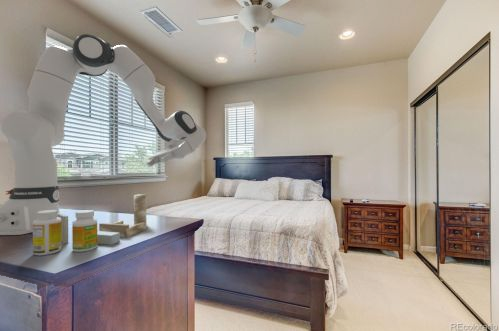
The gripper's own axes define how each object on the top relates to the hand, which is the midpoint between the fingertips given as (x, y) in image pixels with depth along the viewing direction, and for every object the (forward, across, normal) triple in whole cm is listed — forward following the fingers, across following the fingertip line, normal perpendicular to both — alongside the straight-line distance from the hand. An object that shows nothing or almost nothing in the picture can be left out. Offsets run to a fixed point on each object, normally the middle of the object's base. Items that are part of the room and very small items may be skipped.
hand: (155, 163), depth 95 cm
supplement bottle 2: (+37, +9, +8) cm, 39 cm away
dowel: (+18, -1, +16) cm, 24 cm away
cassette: (+37, -5, +5) cm, 38 cm away
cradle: (+24, +2, +13) cm, 27 cm away
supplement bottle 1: (+42, +5, +4) cm, 43 cm away
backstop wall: (+33, +6, +9) cm, 34 cm away
